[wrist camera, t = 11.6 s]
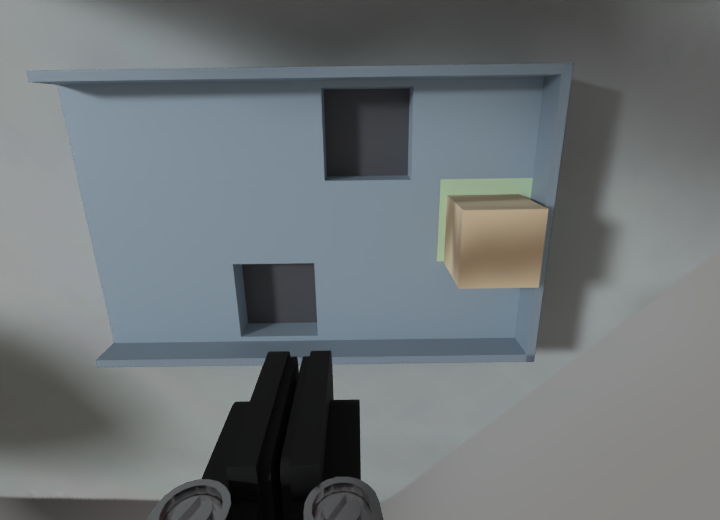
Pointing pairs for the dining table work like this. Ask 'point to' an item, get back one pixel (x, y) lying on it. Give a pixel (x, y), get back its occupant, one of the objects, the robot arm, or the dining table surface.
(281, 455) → the robot arm
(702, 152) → the dining table surface
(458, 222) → the oak block
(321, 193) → the trap board
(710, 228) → the dining table surface
